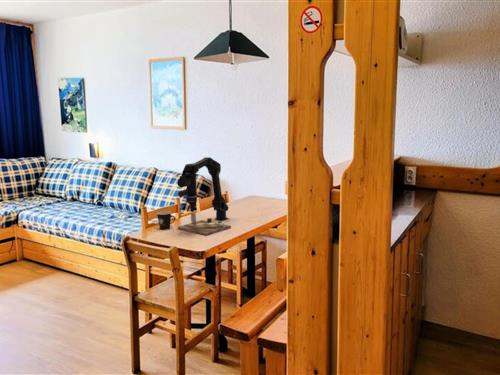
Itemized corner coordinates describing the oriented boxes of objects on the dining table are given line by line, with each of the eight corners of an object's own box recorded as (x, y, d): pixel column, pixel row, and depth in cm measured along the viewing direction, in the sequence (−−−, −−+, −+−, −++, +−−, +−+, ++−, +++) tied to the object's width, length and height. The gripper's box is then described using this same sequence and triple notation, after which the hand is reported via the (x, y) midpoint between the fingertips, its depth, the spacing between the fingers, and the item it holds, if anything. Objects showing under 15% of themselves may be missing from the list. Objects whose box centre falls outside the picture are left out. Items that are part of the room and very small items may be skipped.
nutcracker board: (201, 222, 292) (201, 215, 292) (230, 228, 276) (230, 221, 275) (177, 229, 277) (177, 222, 276) (206, 235, 260) (206, 228, 259)
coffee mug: (155, 228, 280) (154, 213, 278) (167, 225, 286) (166, 210, 284) (164, 231, 271) (163, 216, 270) (176, 229, 277) (175, 213, 275)
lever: (223, 224, 275) (223, 211, 273) (223, 226, 270) (223, 212, 269) (191, 226, 273) (191, 212, 272) (191, 228, 269) (190, 214, 267)
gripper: (179, 183, 275) (180, 207, 278) (176, 188, 257) (178, 214, 260) (197, 182, 276) (198, 206, 279) (196, 187, 258) (197, 213, 261)
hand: (192, 210), depth 270 cm, fingers open, 9 cm apart
